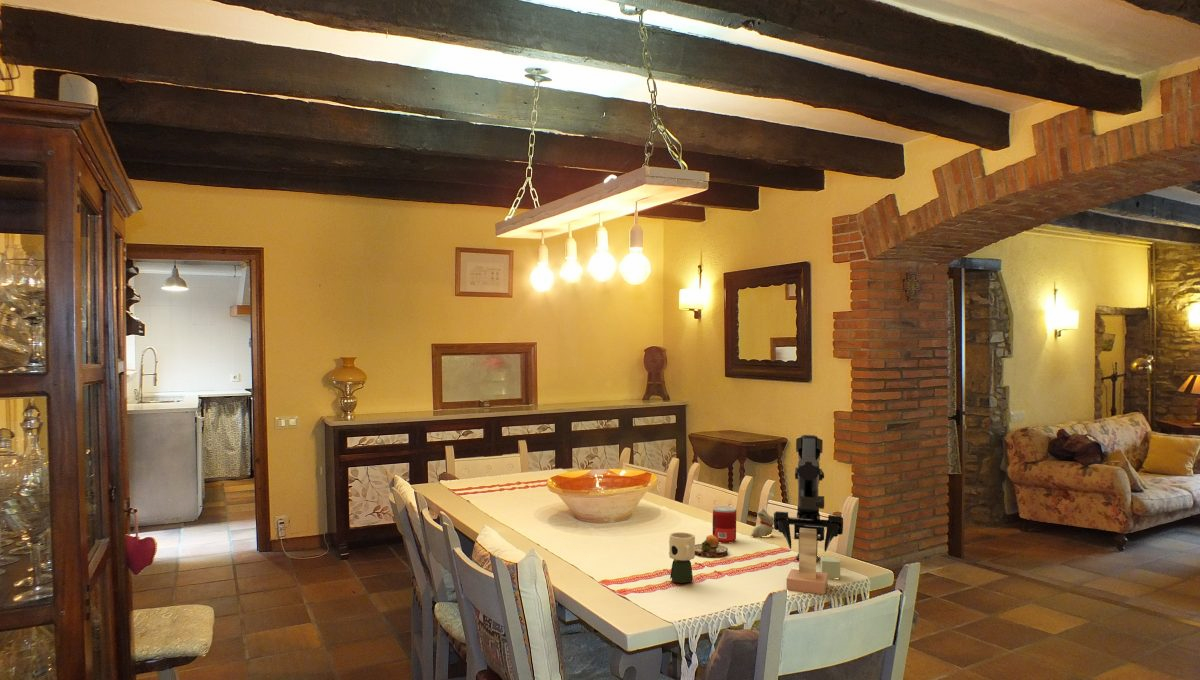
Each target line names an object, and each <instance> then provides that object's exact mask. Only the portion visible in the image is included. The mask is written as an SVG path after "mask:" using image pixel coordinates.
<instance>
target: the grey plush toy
mask: <svg viewBox="0 0 1200 680" xmlns="http://www.w3.org/2000/svg"><path fill="white" fill-rule="evenodd" d="M756 514H757V516H758V517H759V519H760V522H759V523H758V524H757V525H755V526H754V527H753V529H752V532H751V535H750V536H753V537H752V538H756V537H762V536H767V535H769V534H772V532H773V530H775V529H774V516H771V515H769V513H768V512H767V510H765V509H764V508H760V510H759V511H758V512H757V513H756Z"/></svg>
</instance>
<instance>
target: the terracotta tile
mask: <svg viewBox="0 0 1200 680" xmlns="http://www.w3.org/2000/svg"><path fill="white" fill-rule="evenodd" d="M828 584H829V579H828V573H822V572H819V571H816V579H812V578H801V577H799V569H796V568H795V569H794V568H791V569H790V570H789V572H788V575H787V577H786V586H785V587H786V589H788V591H795V592H804V593H811V594H818V595H819V594H820V595H826V592H827V589H826V588H828Z"/></svg>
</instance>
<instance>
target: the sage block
mask: <svg viewBox="0 0 1200 680" xmlns="http://www.w3.org/2000/svg"><path fill="white" fill-rule="evenodd" d="M819 565H820V572H822V573H828V578H840V579H841V561H840V558H839V557H835V556H832V557H831V556H820V564H819Z"/></svg>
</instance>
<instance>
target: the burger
mask: <svg viewBox="0 0 1200 680" xmlns="http://www.w3.org/2000/svg"><path fill="white" fill-rule="evenodd" d="M715 535H716V534H715ZM728 550H729V548H728V547H726V546H724V545H721V544H720V543H719V541H718V539H717V538H716V537H715V536H713V534H709V535H707V536H706V537H705V540H704V541H703V542H701V543H697V544H695V556H698V557H699V554H700V556H701V557H703V558H709V557H715V558H720V557H722V558H724V557H726V556H728V554H729V552H728Z"/></svg>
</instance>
